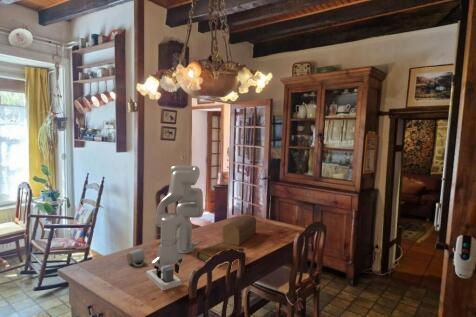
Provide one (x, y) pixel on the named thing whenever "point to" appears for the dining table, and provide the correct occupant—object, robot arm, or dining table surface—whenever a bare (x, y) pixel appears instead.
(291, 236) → the dining table surface
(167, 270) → the plug
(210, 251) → the diary
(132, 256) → the ceramic mug
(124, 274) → the dining table surface
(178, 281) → the jack panel
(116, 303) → the dining table surface
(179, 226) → the robot arm
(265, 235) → the dining table surface
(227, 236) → the bread
